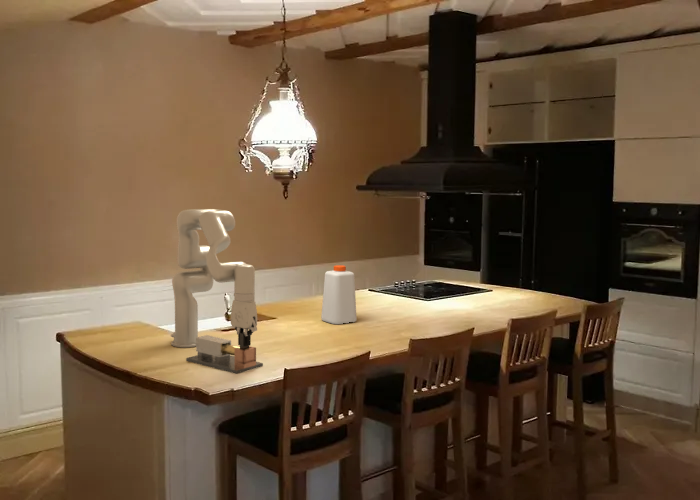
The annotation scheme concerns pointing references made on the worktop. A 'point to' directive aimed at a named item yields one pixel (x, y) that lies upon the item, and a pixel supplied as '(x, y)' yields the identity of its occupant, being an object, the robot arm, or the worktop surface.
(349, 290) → the plastic bottle
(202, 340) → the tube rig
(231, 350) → the sliding bolt with handle
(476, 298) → the worktop surface
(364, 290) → the worktop surface
